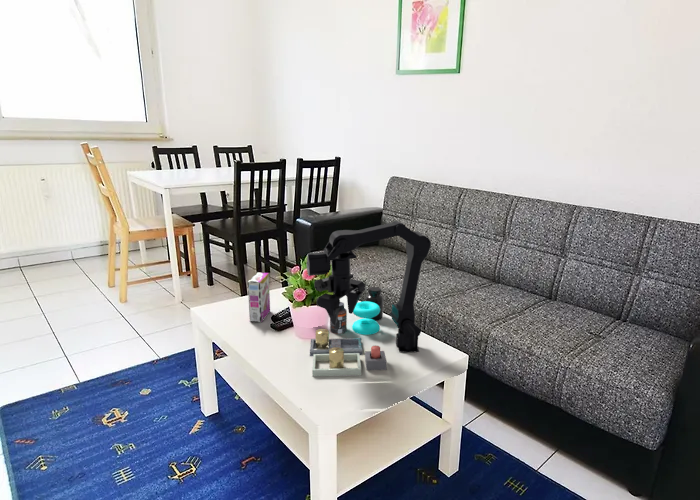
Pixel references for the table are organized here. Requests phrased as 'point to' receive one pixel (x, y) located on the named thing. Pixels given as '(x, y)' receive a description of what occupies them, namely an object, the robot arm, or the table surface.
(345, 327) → the supplement bottle
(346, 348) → the grey flat frame
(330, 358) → the billet
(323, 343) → the cylinder
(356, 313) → the donuts
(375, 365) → the grey square socket block
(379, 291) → the supplement bottle
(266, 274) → the candy bar box
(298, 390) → the table surface
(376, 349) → the button
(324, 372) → the tray
